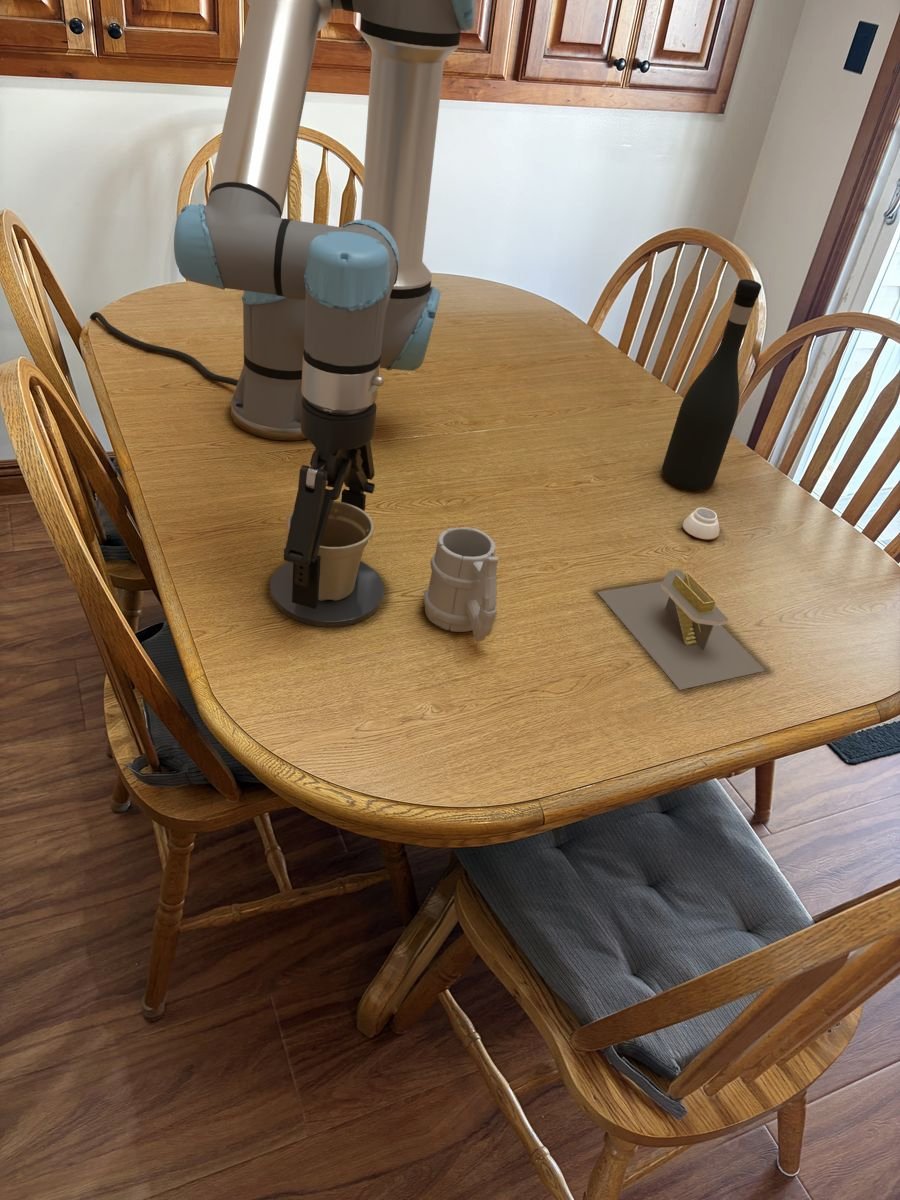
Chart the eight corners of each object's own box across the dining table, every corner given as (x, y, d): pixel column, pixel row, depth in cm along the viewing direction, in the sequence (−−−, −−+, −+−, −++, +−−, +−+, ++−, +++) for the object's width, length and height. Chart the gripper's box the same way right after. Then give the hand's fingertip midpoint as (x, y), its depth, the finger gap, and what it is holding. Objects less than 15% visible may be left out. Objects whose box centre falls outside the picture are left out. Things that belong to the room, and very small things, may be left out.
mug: (471, 588, 112) (486, 503, 105) (514, 651, 104) (534, 563, 97) (412, 597, 109) (423, 510, 102) (451, 663, 101) (467, 573, 94)
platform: (679, 689, 102) (697, 644, 99) (596, 592, 115) (609, 548, 111) (765, 670, 107) (785, 626, 103) (676, 578, 120) (691, 536, 116)
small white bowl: (679, 534, 128) (715, 545, 127) (685, 516, 127) (722, 527, 126) (684, 517, 132) (719, 528, 131) (690, 500, 130) (726, 510, 129)
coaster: (250, 607, 104) (250, 602, 104) (297, 547, 114) (297, 542, 114) (360, 639, 102) (361, 634, 102) (398, 576, 112) (399, 570, 112)
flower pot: (354, 619, 104) (360, 555, 98) (273, 600, 104) (274, 536, 99) (377, 572, 111) (383, 511, 106) (301, 555, 112) (303, 493, 107)
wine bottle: (656, 463, 144) (715, 268, 126) (707, 470, 145) (772, 276, 127) (664, 490, 138) (727, 288, 120) (717, 497, 138) (787, 297, 120)
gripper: (327, 463, 83) (317, 644, 96) (413, 362, 103) (395, 524, 116) (249, 442, 84) (249, 624, 97) (349, 347, 104) (338, 509, 117)
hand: (328, 570), depth 107 cm, fingers open, 13 cm apart
